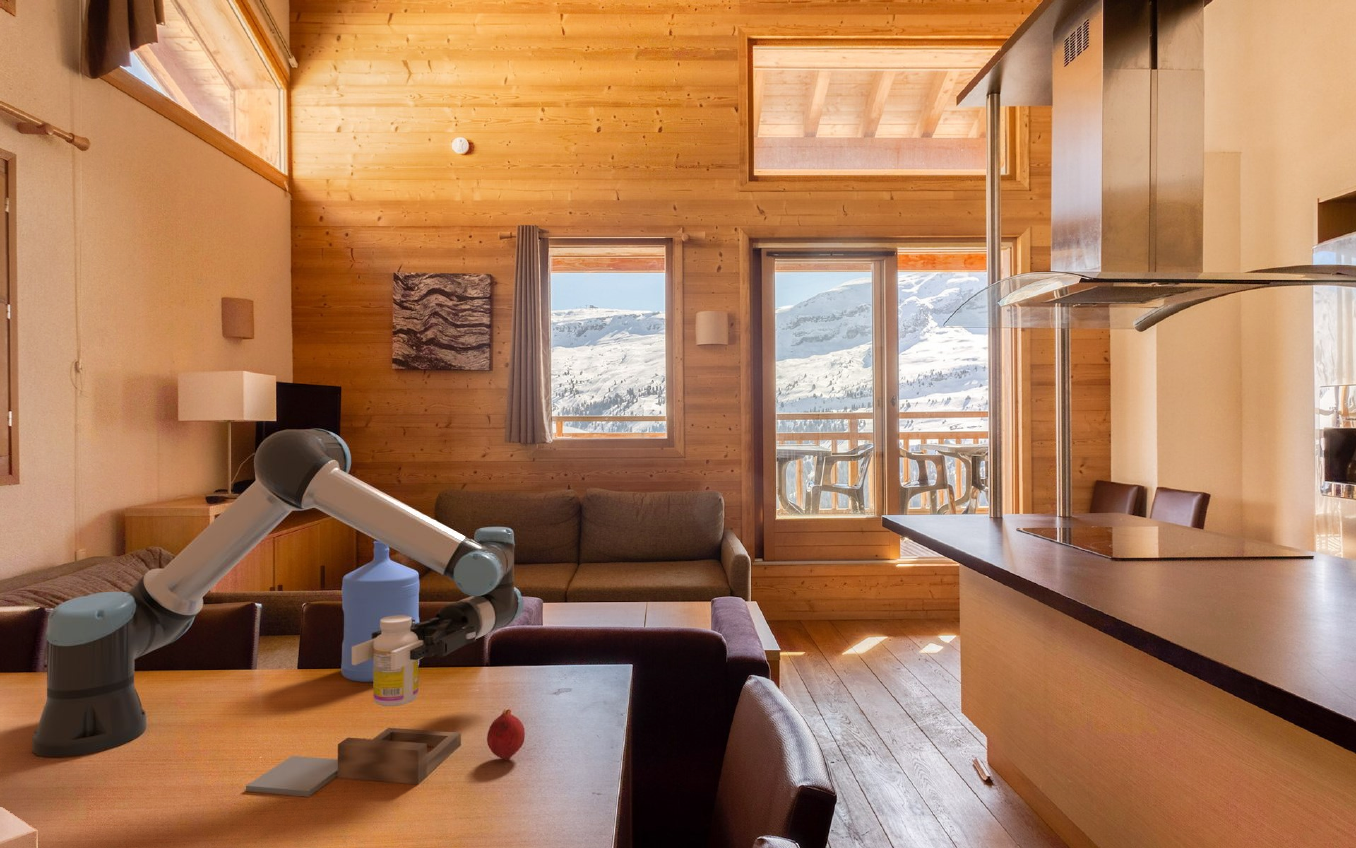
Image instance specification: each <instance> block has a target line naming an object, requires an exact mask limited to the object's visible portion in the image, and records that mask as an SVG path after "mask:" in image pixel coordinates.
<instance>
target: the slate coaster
mask: <svg viewBox="0 0 1356 848" xmlns="http://www.w3.org/2000/svg"><path fill="white" fill-rule="evenodd" d="M336 777H338V758H323V757H312V756H311V757H310V756H301V755H300V756H299V755H298V756H297V755H291V756H290V757H288V758H287V759H285V760H283V761H282V762H279V764H277V765H275V766H274V767H273V768H272V769H270V770H269V769H268V771H266V772H265V773H264V774H262V775H260V776H259V777H257V778H256V779H253V781H250V782H249V783H247V784H246V785H245V791H246V792H251V793H262V794H273V795H275V794H276V795H285V796H295V797H306V798H309V797H311V795H313V794H314V793H315V792H317V791H319V789H322V788H323V787H324V786H325V785H327V784H328V783H329V782H330V781H332V780H333V779H335V778H336Z"/></svg>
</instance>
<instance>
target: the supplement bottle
mask: <svg viewBox="0 0 1356 848" xmlns="http://www.w3.org/2000/svg"><path fill="white" fill-rule="evenodd" d="M411 625H412V618H411V617H410V616H405V615H396V616H389V617H385V618H382V619H381V620H380V628H381V630H382V633H381V635H379V636H377V637H376V639H375V640H374V643H373V682H372V683H373V685H372V686H373V701H374V703H375V704H377V705H379V706H382V707H398V706H403V705H407V704H409V703H411V702H414V701H415V700H416V699H417V698H418V695H419V665H418V660H417V661H415V662H413V663H410V664H408V665H406V666H404V667H401V668H399V669H397V670H391V651H394V650H396V649H399V648H401V647H404V646H406V645H409V644H411V643H414V642H416V641H418V637H417V635H416V634H415V633H414V632H411V631H410V627H411Z"/></svg>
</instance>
